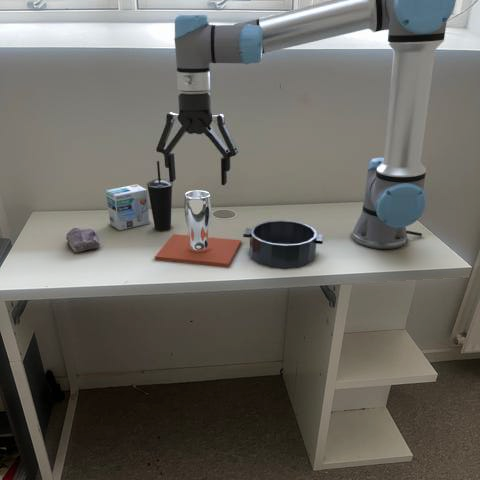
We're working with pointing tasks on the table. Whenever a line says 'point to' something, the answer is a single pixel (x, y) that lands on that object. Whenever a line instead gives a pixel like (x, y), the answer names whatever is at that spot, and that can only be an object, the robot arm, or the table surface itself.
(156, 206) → the drinking cup
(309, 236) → the pot
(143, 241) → the table surface
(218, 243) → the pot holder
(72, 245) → the rock
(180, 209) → the table surface
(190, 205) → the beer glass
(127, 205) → the light bulb box
